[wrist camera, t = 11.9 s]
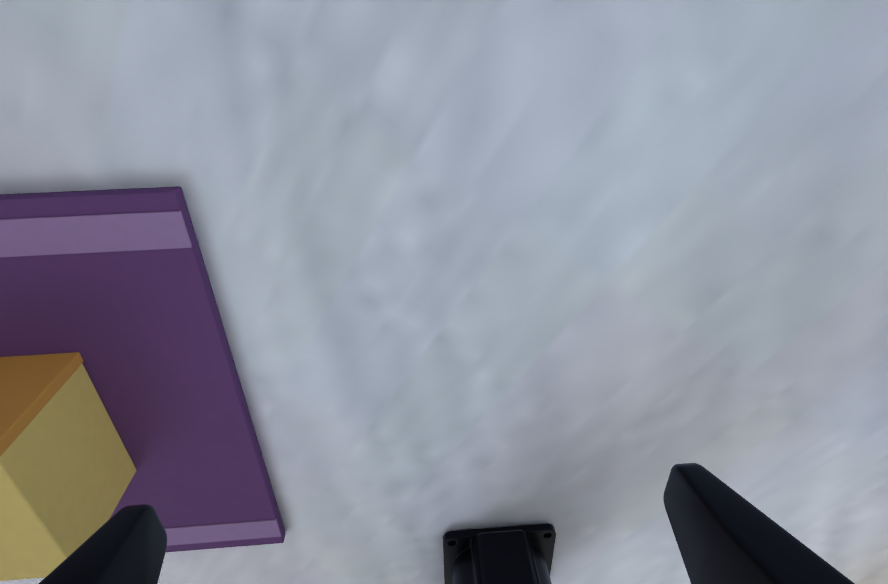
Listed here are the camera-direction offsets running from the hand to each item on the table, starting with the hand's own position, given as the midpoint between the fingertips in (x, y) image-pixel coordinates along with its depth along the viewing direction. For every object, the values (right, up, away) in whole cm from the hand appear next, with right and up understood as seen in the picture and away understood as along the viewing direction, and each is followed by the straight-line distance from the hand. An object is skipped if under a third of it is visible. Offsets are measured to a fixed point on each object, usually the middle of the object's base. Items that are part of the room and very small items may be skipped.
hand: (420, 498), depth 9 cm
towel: (-17, -2, +14) cm, 22 cm away
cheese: (-17, -2, +13) cm, 21 cm away
